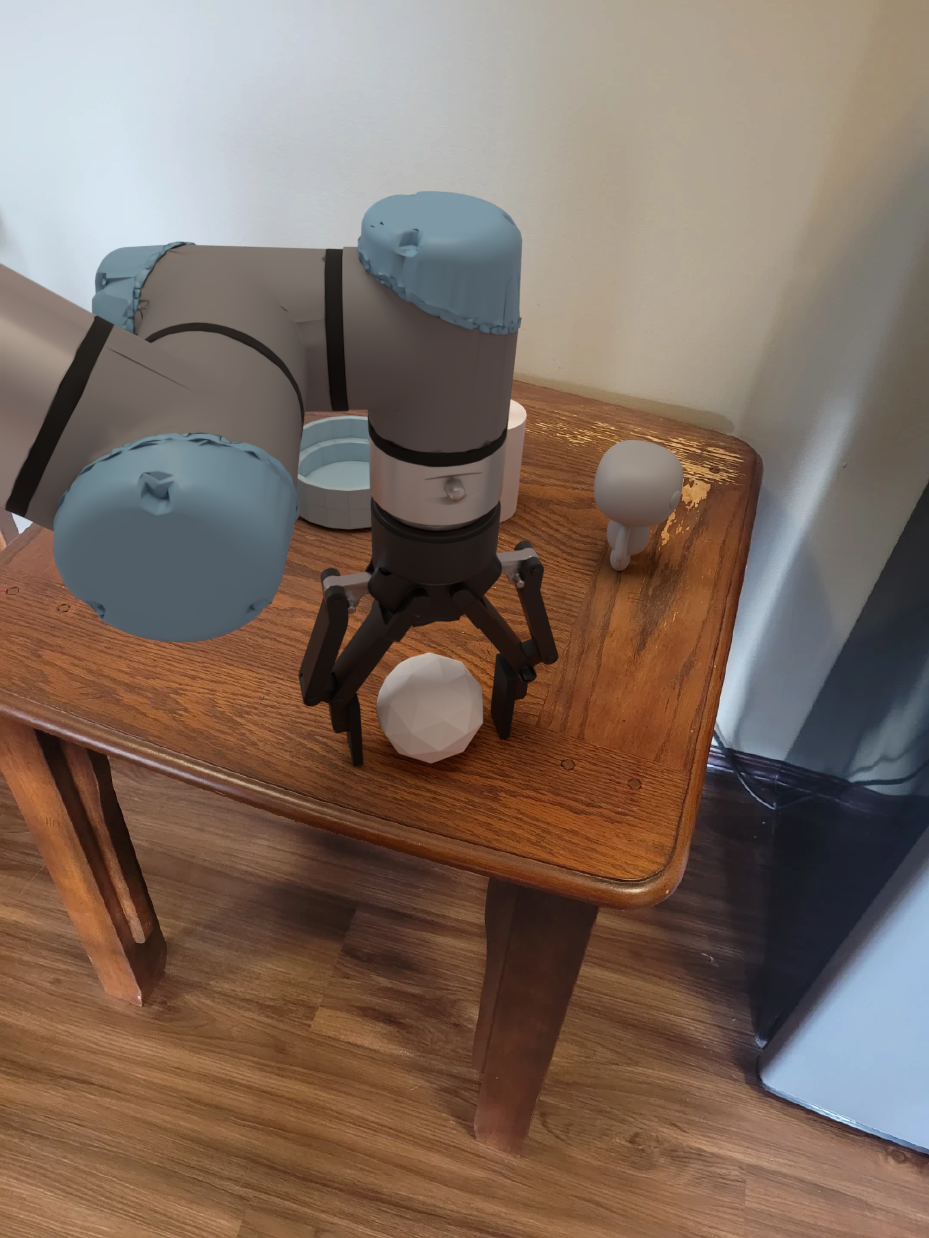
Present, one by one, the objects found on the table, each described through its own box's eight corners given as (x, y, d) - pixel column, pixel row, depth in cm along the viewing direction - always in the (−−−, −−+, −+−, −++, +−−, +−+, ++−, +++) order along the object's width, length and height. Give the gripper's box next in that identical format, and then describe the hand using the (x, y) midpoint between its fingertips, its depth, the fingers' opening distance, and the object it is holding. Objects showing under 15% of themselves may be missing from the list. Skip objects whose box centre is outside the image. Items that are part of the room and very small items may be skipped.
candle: (497, 480, 89) (510, 345, 79) (527, 515, 85) (544, 377, 74) (443, 493, 87) (448, 356, 76) (470, 530, 83) (480, 390, 72)
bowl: (257, 493, 85) (251, 450, 82) (352, 443, 93) (350, 402, 89) (349, 551, 79) (347, 507, 76) (443, 492, 87) (444, 450, 84)
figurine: (655, 597, 77) (685, 487, 69) (573, 579, 78) (593, 469, 70) (664, 544, 83) (693, 437, 74) (588, 528, 84) (608, 421, 75)
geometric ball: (403, 752, 66) (363, 661, 64) (499, 718, 66) (461, 624, 64) (395, 796, 59) (350, 694, 57) (504, 757, 58) (461, 653, 56)
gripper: (235, 563, 43) (279, 810, 58) (647, 508, 48) (589, 748, 64) (224, 481, 48) (268, 727, 64) (598, 439, 54) (555, 676, 69)
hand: (428, 737), depth 64 cm, fingers open, 10 cm apart
